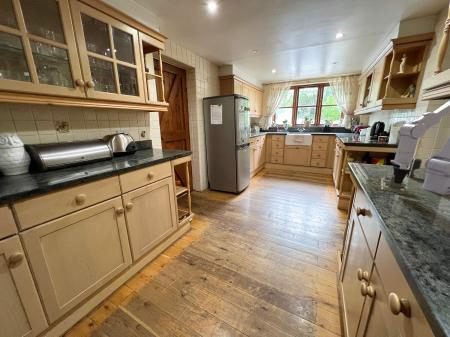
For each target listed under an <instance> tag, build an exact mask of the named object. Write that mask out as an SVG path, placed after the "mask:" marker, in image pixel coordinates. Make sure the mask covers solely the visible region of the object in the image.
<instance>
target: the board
mask: <svg viewBox="0 0 450 337" xmlns="http://www.w3.org/2000/svg"><path fill="white" fill-rule="evenodd" d="M390 179H391V177H388V176H383V177H382V178H381V179H380V180H381V183H380V184H381V186H380V187H381V190H384V191H389V192H394V193H399V194H404V195H409V196H410V191H409V189H408V186H407V183H406V181H405V179H404V180H403V183H402V186H401V189H395V188H390V187H388V186H389V182H390Z"/></svg>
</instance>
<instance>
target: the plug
mask: <svg viewBox="0 0 450 337" xmlns="http://www.w3.org/2000/svg"><path fill="white" fill-rule="evenodd" d="M394 177H395V175H394V174H391V176H390V178H391V179H390V182H389V186H388V187H390V188H395V189H401V186H402V183H403V181H402V183H401V184H397V183H394Z"/></svg>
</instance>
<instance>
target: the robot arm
mask: <svg viewBox="0 0 450 337" xmlns="http://www.w3.org/2000/svg"><path fill="white" fill-rule="evenodd" d="M449 114H450V99H449V100H448V101H447V102H446V103H444V104H443V105H441V106H440V107H438V108H437V109H436V110H434V111H432V112H431V111H429V112H424V113H423V114H422V116H420V117H418V118H417V119H415V120H413V121H412V122H410V123H406V124H403V125H402V126H401V127H400V128H399V129H398V131H397V133H398V134H397V135H398V136H399V137H398V140H399V141H398V142H399V143H398V145H397V149H396V153H395V155H394V156H395V157H394V159H390V163H392V168H393V175H395V177H394V183H397V184H401V183H402V181H403V180H405V178H406V177H407V175H408V173H409V172H410V171H411V170H409V169H408V168H410V165H412V159H413V158H414V156H415V152H416V149H417V146H418V143H419V139H420V138H423V136H424V135H425V134H426V132H427V131H428V130H429V129H431V128H432V127H434V126H436V125H437V124H439V123H440V122H441V120H442V118H443V117H445V116H447V115H449ZM424 168H425V169H426V170H425V171H426V176H425V179H424V181H423V183H422V187H421V188H422V189H424V190H426V191H430V192H433V193H436V194H438V195H450V136H449V137H448V138H447V141H445V144H444V145H443V147H442V148H441V149H440V150H439V151H437V152H434V153H432V154H431V156H430V157H428V158H427V159H426V160H425V162H424Z"/></svg>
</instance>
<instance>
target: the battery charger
mask: <svg viewBox="0 0 450 337" xmlns="http://www.w3.org/2000/svg"><path fill="white" fill-rule="evenodd" d="M422 163H423V160H422V159H421V158H417V157H413V159H412V165H409V167H408V168H409V169H408V170H411V171H410V172H409V173H408V174H407V175H406V177H407V178H411V179H416V176H415V174H414V173H415V170H420V168H421V167H422Z"/></svg>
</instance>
